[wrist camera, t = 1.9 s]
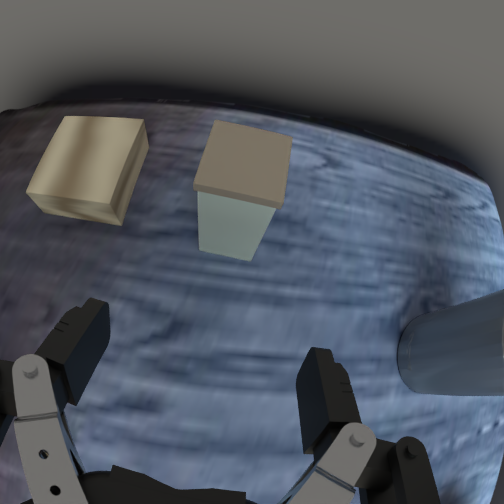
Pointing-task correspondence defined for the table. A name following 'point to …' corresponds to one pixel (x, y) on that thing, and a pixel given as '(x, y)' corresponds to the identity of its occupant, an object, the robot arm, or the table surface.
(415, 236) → the table surface
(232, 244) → the sage canister
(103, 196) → the maple block
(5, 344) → the table surface
